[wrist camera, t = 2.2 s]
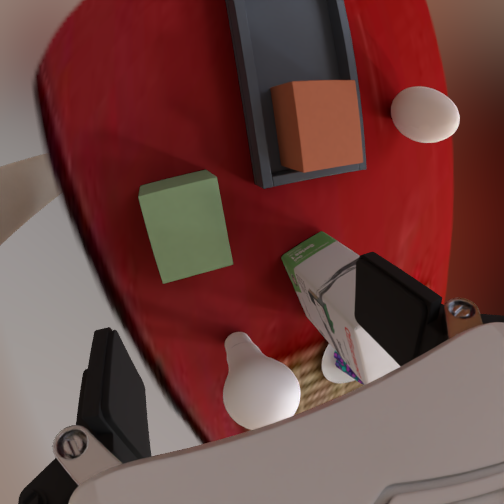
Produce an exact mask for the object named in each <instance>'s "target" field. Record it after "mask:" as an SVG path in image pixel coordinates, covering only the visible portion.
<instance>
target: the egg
mask: <svg viewBox="0 0 504 504" xmlns="http://www.w3.org/2000/svg"><path fill="white" fill-rule="evenodd" d="M391 117H392V120H393V122H394V125H395V126H396V128H397V129H398V130H399V131H400V132H401V133H402V134H403V135H405V136H406V137H408V138H410V139H412V140H414V141H418V142H423V143H433V142H438V141H441V140H444V139H446V138H448V137H449V136H451V135H452V134H454V132H455V131H456V129H457V128H458V125H459V120H460V116H459V112H458V109H457V107H456V106H455V104H454V103H453V102H452V101H451V99H449V98H448V97H447V96H446V95H444V94H443V93H441V92H439V91H437V90H435V89H432V88H428V87H420V86H418V87H410V88H407V89H405V90H403V91H401V92H400V93H399V94H397V96H396V97H395V98H394V100H393V102H392V105H391Z"/></svg>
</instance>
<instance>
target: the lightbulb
mask: <svg viewBox="0 0 504 504" xmlns="http://www.w3.org/2000/svg"><path fill="white" fill-rule="evenodd" d="M225 348H226V352H227V363H228V366H229V374H228V376H227V379H226V382H225V385H224V389H223V400H224V405H225V408H226V410H227V412H228V413H229V415H230V416H231V417H232V418H233V419H234V420H235V421H236V422H237V423H238V424H239V425H241V426H243V427H245V428H247V429H251V430H254V429H257V428H260V427H263V426H266V425H269V424H272V423H275V422H278V421H280V420H283V419H286V418H289V417H291V416H293V415H294V414H295V412H296V410H297V408H298V405H299V401H300V387H299V383H298V380H297V378H296V376H295V375H294V373H293V372H292V371H291V370H290V369H289V368H288V367H287V366H286V365H284V364H283V363H281V362H279V361H276V360H274V359H272V358H269V357H267V356H265V355H264V354H263V353H262V352H261V351H260V349H259V348H258V347H257V346H256V345H255V344H253V342H252V341H251V339H250V338H249V336H248V335H247V334H246V333H244V332H235V333H232V334H230V335H229V336H228V337H227V338H226V340H225Z"/></svg>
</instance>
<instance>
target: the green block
mask: <svg viewBox="0 0 504 504" xmlns="http://www.w3.org/2000/svg"><path fill="white" fill-rule="evenodd" d="M138 198H139V202H140V206H141V210H142V214H143V218H144V221H145V225H146V229H147V232H148V236H149V239H150V243H151V246H152V250H153V253H154V256H155V260H156V263H157V266H158V270H159V273H160V276H161V279H162V282H163V284H165V283H168V282H172V281H175V280H179V279H183V278H186V277H190V276H194V275H197V274H201V273H204V272H208V271H212V270H215V269H219V268H222V267H226V266H230V265H233V260H232V255H231V250H230V245H229V239H228V234H227V229H226V224H225V218H224V213H223V208H222V202H221V197H220V192H219V186H218V181H217V177H216V176H215V175H213V174H212V173H210V172H209V171H207V170H202V171H198V172H193V173H189V174H185V175H181V176H177V177H172V178H168V179H165V180H161V181H157V182H153V183H149V184H145V185H142V186H140V190H139V195H138Z"/></svg>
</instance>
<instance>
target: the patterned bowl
mask: <svg viewBox="0 0 504 504" xmlns="http://www.w3.org/2000/svg"><path fill="white" fill-rule="evenodd" d="M321 366H322V372H323V375H324V376H325V377H326V379H328V380H329V381H331V382H334V383H347V382H351V381H354V380H357V381H358V382H360V383H361V384H364V383H363V382H362V381H361V380H360V379H359V377H358V376H357V375H356V374H355V373H354V372H353V370H352V369H351V368H350V367H349V366H348V365H347V363H346V362H345V361H344V360H343V359H342V357H341V356H340V355H339V354H338V353H337V352H336V350H335V349H334V348H333V347H332V346H331V345H330V343H329V344H328V346H327V348H326V350H325V352H324V355H323V358H322V365H321Z"/></svg>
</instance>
